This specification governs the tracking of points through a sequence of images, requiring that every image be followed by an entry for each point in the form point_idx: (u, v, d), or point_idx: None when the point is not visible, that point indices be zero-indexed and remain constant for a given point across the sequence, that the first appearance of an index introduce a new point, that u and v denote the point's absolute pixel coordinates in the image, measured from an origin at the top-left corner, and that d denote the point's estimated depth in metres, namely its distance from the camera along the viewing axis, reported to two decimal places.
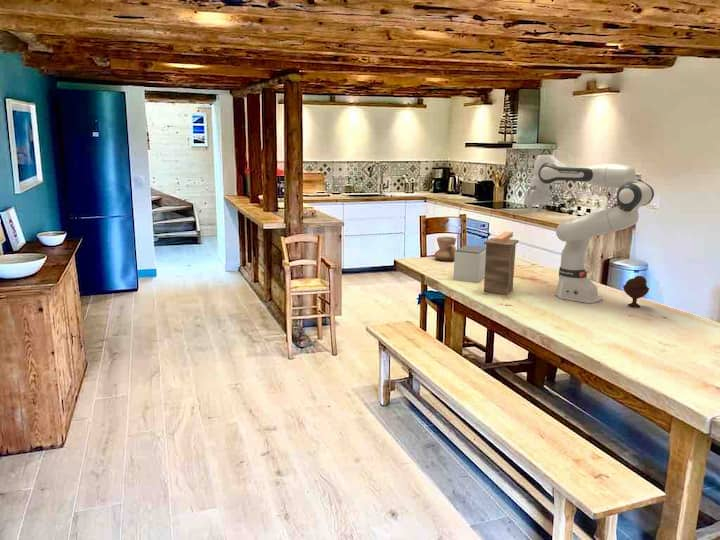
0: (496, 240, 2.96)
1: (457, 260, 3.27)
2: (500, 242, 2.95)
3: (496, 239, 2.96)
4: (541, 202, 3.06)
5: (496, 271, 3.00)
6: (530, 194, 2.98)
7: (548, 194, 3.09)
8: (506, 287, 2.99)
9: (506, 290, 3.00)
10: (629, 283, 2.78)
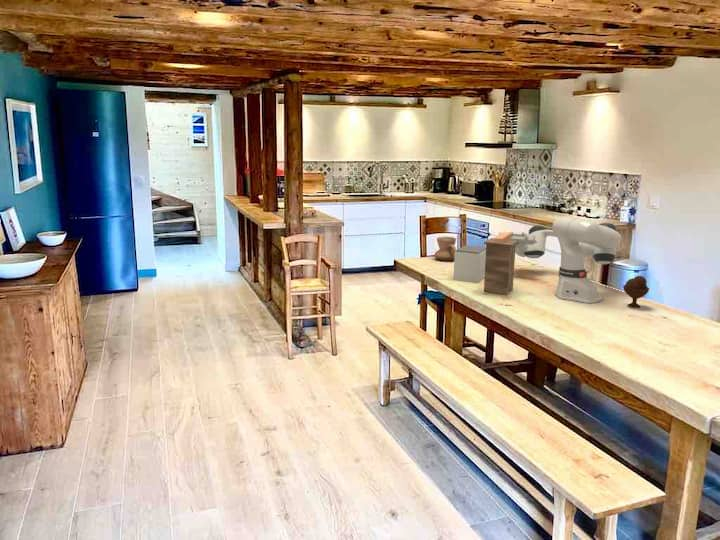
0: (496, 240, 2.96)
1: (457, 260, 3.27)
2: (500, 242, 2.95)
3: (496, 239, 2.96)
4: (511, 239, 3.32)
5: (496, 271, 3.00)
6: (534, 242, 3.31)
7: None
8: (506, 287, 2.99)
9: (506, 290, 3.00)
10: (629, 283, 2.78)
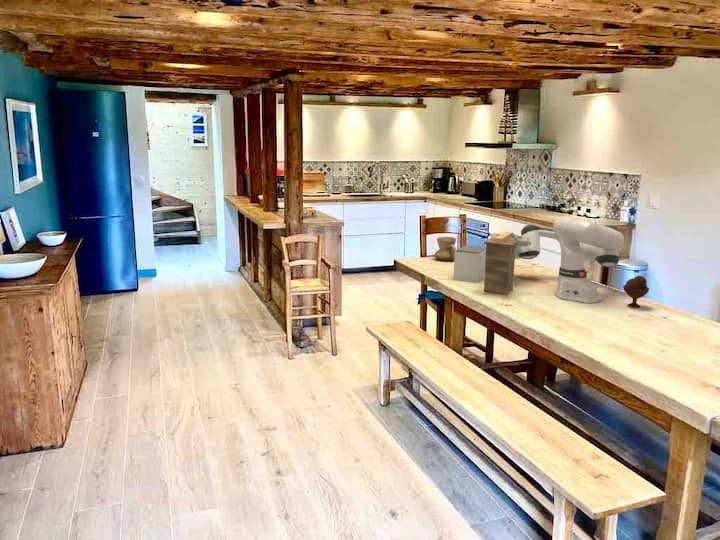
0: (496, 240, 2.96)
1: (457, 260, 3.27)
2: (500, 242, 2.95)
3: (496, 239, 2.96)
4: None
5: (496, 271, 3.00)
6: None
7: None
8: (506, 287, 2.99)
9: (506, 290, 3.00)
10: (629, 283, 2.78)
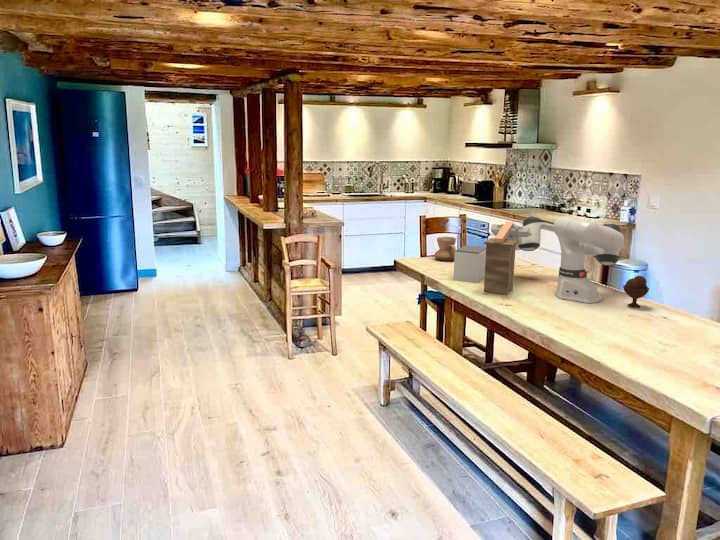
0: (496, 240, 2.96)
1: (457, 260, 3.27)
2: (500, 242, 2.96)
3: (496, 239, 2.96)
4: None
5: (496, 271, 3.00)
6: (529, 235, 3.16)
7: (496, 233, 3.23)
8: (506, 287, 2.99)
9: (506, 290, 3.00)
10: (629, 283, 2.78)
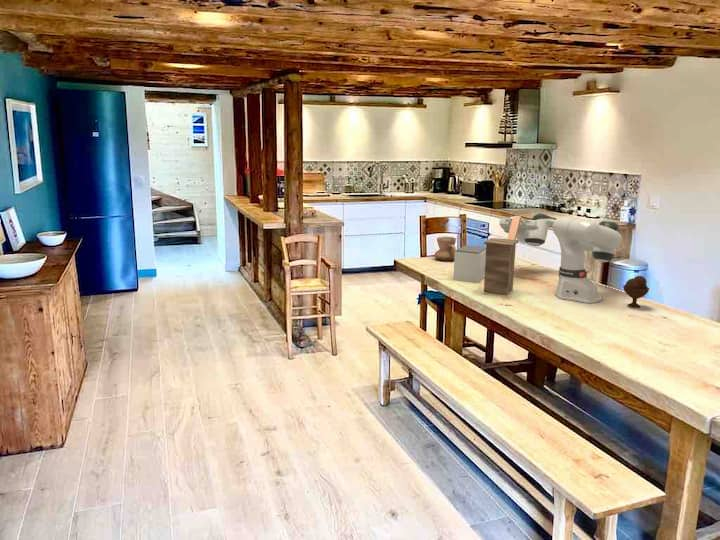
0: None
1: (457, 260, 3.27)
2: None
3: None
4: None
5: (496, 271, 3.00)
6: (536, 228, 3.32)
7: (504, 227, 3.39)
8: (506, 287, 2.99)
9: (506, 290, 3.00)
10: (629, 283, 2.78)
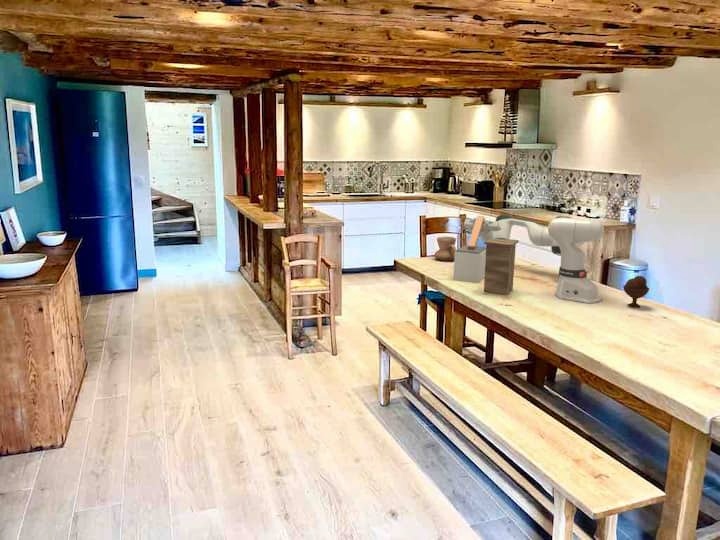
0: (469, 247, 3.30)
1: (457, 260, 3.27)
2: (473, 248, 3.30)
3: (469, 246, 3.30)
4: None
5: (496, 271, 3.00)
6: (498, 229, 3.43)
7: (469, 227, 3.50)
8: (506, 287, 2.99)
9: (506, 290, 3.00)
10: (629, 283, 2.78)
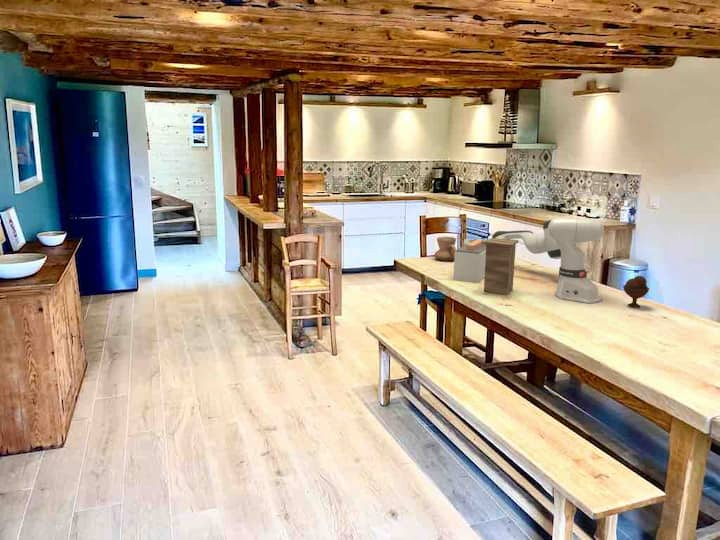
0: (468, 247, 3.28)
1: (457, 260, 3.27)
2: (471, 249, 3.28)
3: (468, 246, 3.28)
4: None
5: (496, 271, 3.00)
6: None
7: None
8: (506, 287, 2.99)
9: (506, 290, 3.00)
10: (629, 283, 2.78)
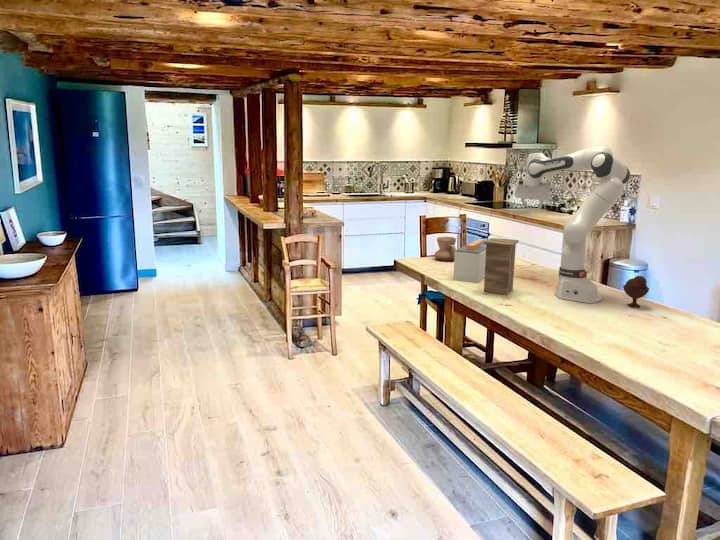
0: (468, 247, 3.28)
1: (457, 260, 3.27)
2: (471, 249, 3.28)
3: (468, 246, 3.28)
4: None
5: (496, 271, 3.00)
6: (549, 190, 3.25)
7: None
8: (506, 287, 2.99)
9: (506, 290, 3.00)
10: (629, 283, 2.78)
